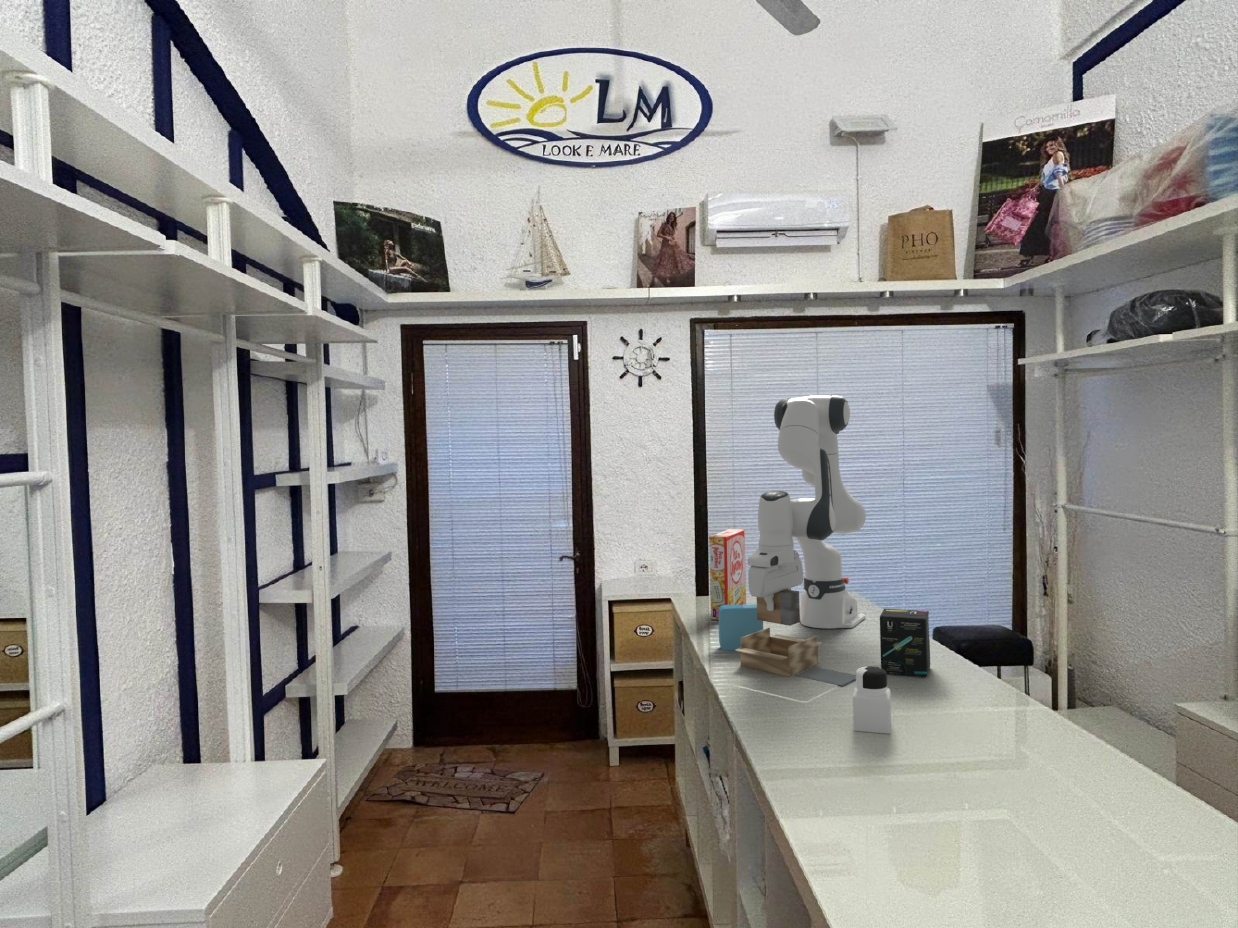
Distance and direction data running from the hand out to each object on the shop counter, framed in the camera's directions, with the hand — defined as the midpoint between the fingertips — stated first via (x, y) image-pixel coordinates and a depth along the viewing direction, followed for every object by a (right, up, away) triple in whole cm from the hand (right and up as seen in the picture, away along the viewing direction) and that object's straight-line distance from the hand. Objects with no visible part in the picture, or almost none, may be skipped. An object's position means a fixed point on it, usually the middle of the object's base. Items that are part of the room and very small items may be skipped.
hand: (778, 607), depth 209 cm
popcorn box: (-5, -13, +60) cm, 61 cm away
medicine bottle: (+11, -17, -43) cm, 48 cm away
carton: (0, -15, 0) cm, 15 cm away
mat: (+10, -15, -10) cm, 21 cm away
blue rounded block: (-7, -15, +17) cm, 24 cm away
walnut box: (0, -3, 0) cm, 3 cm away
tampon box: (+30, -15, -8) cm, 34 cm away
